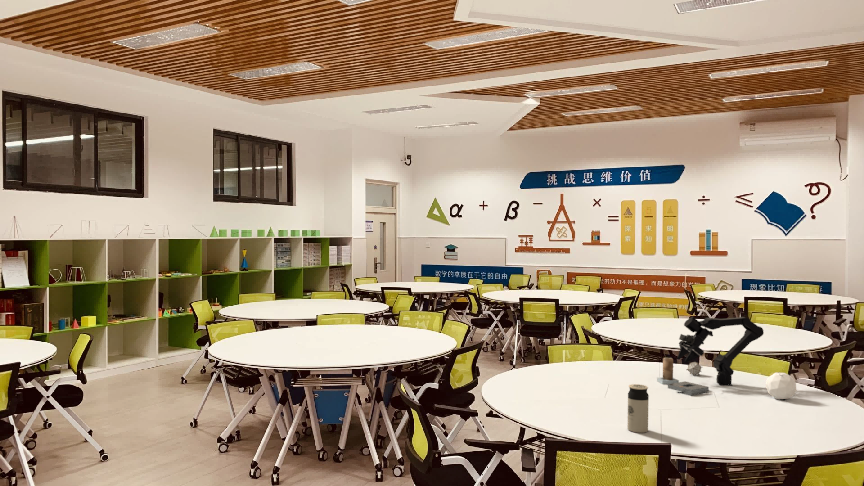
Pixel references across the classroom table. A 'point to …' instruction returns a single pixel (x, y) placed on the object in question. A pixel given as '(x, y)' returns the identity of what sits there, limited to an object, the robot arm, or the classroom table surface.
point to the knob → (667, 369)
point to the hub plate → (689, 388)
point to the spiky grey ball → (694, 368)
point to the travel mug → (638, 408)
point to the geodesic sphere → (781, 386)
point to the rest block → (667, 381)
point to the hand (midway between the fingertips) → (681, 360)
